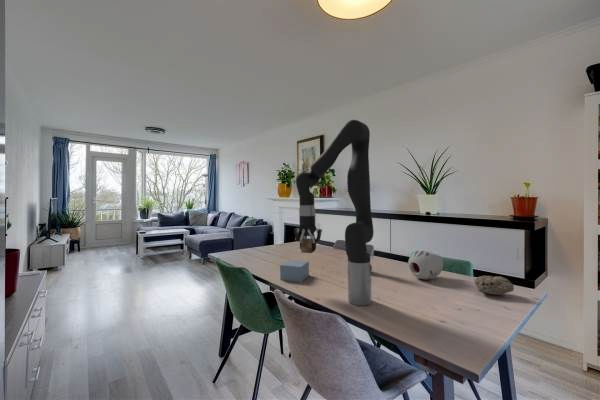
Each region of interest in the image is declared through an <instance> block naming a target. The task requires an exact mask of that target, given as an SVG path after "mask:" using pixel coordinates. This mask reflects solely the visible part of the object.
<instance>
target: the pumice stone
mask: <svg viewBox="0 0 600 400" xmlns="http://www.w3.org/2000/svg"><path fill="white" fill-rule="evenodd" d="M473 281H474V285H475V287H476V289H477V290H478V291H479V293H481V294H489V295H496V296H497V295H503V294H504V295H505V294H507V293H511V292H514V291H515V290H514V289H515V286H514V285H515V284H513V283H512V282H511V281H510V280H509V279H507V278H505V277H503V276H497V275H496V276H492V275H481V276H478V277H475V278H473Z"/></svg>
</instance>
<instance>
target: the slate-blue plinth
mask: <svg viewBox="0 0 600 400" xmlns="http://www.w3.org/2000/svg"><path fill="white" fill-rule="evenodd" d="M309 263H310V261H309V260H295V259H288V260H286V261H285V262H283V263H281V264H280V265H279V276H280V281H289V282H297V283H299V282H300V283H302V282H304V280H306V279H307V278H308V277H309V276H310V264H309Z"/></svg>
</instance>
